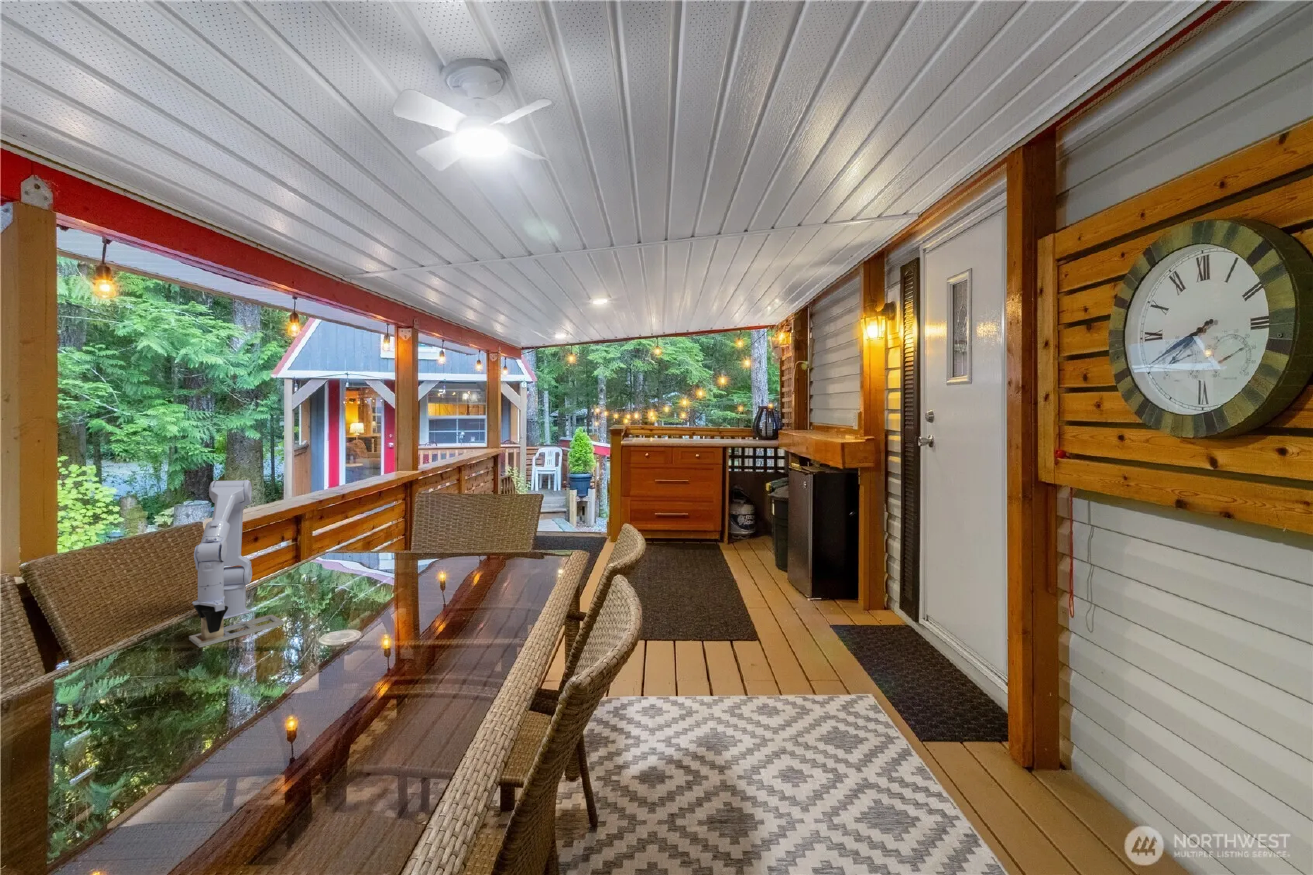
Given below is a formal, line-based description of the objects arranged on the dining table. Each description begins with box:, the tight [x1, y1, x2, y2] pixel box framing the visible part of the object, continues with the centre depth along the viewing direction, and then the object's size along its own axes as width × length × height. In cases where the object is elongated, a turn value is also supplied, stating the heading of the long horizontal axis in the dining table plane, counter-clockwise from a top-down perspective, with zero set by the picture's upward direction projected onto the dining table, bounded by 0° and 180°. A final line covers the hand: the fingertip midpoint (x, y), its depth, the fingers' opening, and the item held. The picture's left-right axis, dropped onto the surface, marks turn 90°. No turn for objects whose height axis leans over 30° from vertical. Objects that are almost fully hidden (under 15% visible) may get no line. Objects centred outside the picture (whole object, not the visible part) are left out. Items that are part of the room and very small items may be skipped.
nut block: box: [200, 617, 225, 641], centre depth 150 cm, size 4×4×6 cm
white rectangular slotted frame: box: [188, 614, 285, 648], centre depth 155 cm, size 8×20×1 cm, turn 147°
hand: (210, 629), depth 150 cm, fingers open, 4 cm apart
